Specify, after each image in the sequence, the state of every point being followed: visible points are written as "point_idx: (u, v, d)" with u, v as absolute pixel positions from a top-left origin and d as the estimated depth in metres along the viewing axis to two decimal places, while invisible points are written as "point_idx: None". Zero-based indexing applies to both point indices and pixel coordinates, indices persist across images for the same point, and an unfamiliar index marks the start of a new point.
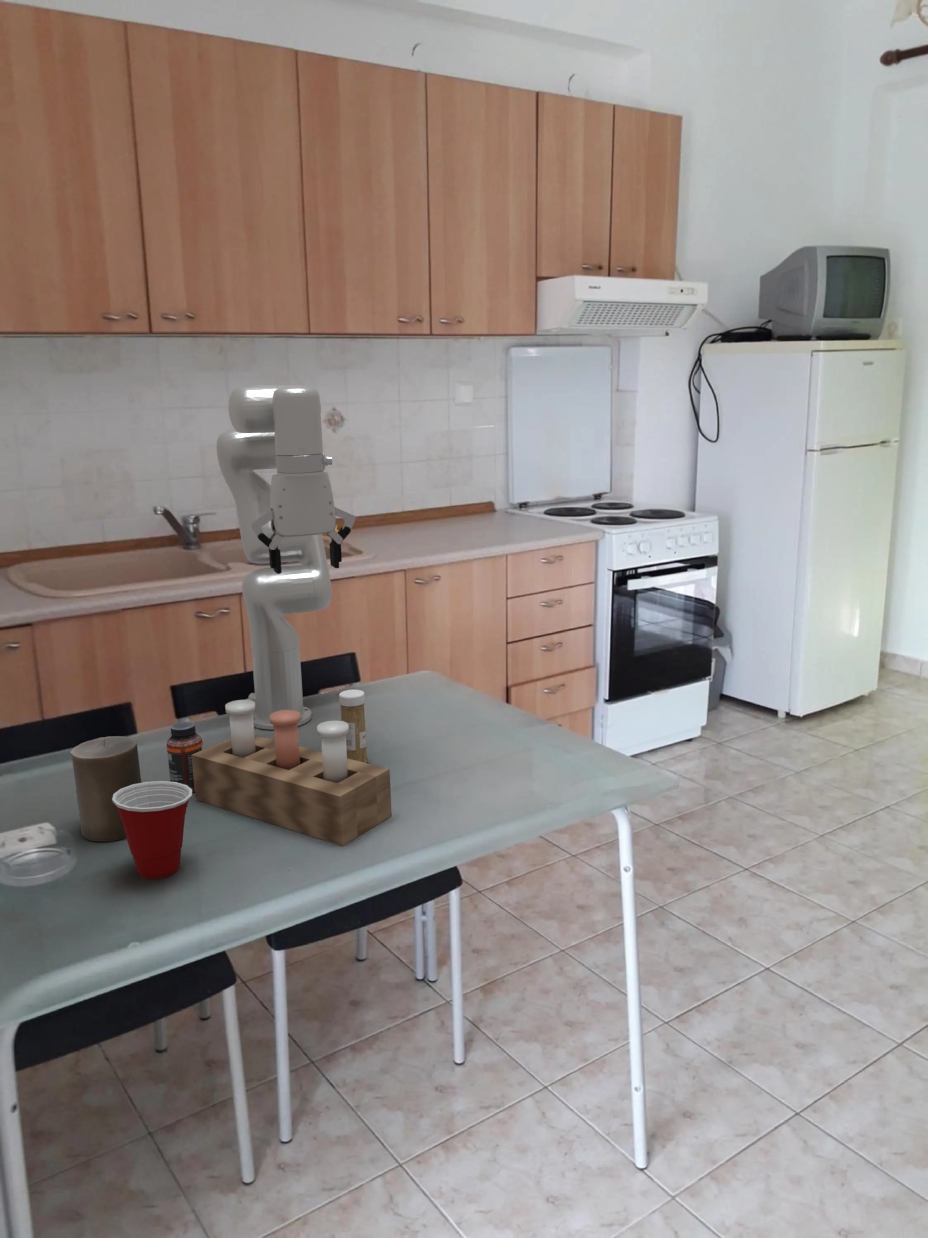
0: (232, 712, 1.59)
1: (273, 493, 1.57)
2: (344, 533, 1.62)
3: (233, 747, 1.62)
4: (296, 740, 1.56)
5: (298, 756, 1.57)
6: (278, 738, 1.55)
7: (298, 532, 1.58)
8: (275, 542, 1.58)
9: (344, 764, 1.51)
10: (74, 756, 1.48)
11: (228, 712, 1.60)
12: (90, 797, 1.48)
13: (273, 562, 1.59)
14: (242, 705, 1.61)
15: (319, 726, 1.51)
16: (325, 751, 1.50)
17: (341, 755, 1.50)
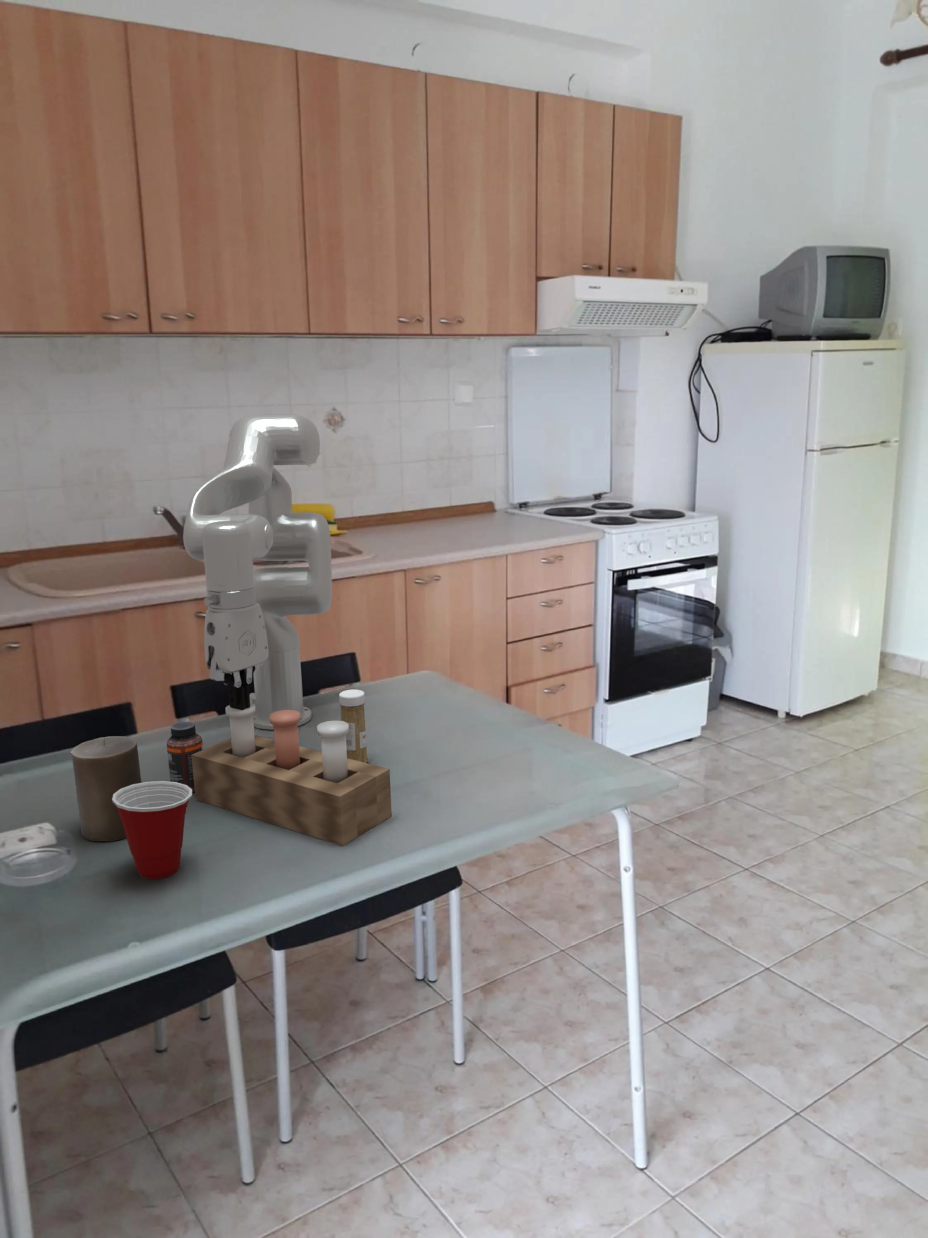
0: (232, 715, 1.59)
1: None
2: None
3: (233, 750, 1.62)
4: (296, 740, 1.56)
5: (298, 756, 1.57)
6: (278, 738, 1.55)
7: None
8: None
9: (344, 764, 1.51)
10: (74, 756, 1.48)
11: (228, 715, 1.60)
12: (90, 797, 1.48)
13: None
14: None
15: (319, 726, 1.51)
16: (325, 751, 1.50)
17: (341, 755, 1.50)
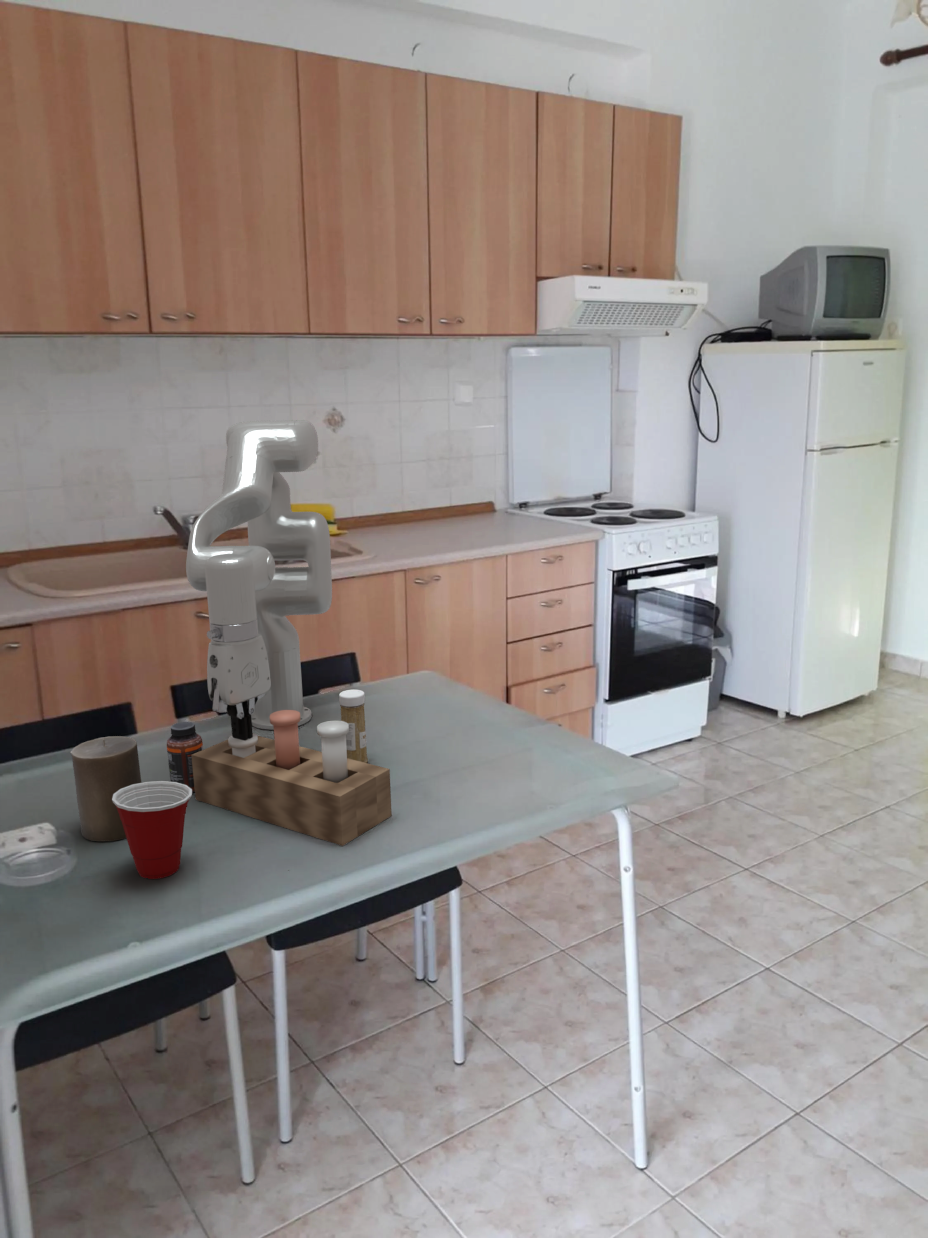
0: (235, 745, 1.61)
1: None
2: None
3: None
4: (296, 740, 1.56)
5: (298, 756, 1.57)
6: (278, 738, 1.55)
7: None
8: None
9: (344, 764, 1.51)
10: (74, 756, 1.48)
11: (231, 745, 1.61)
12: (90, 797, 1.48)
13: None
14: None
15: (319, 726, 1.51)
16: (325, 751, 1.50)
17: (341, 755, 1.50)
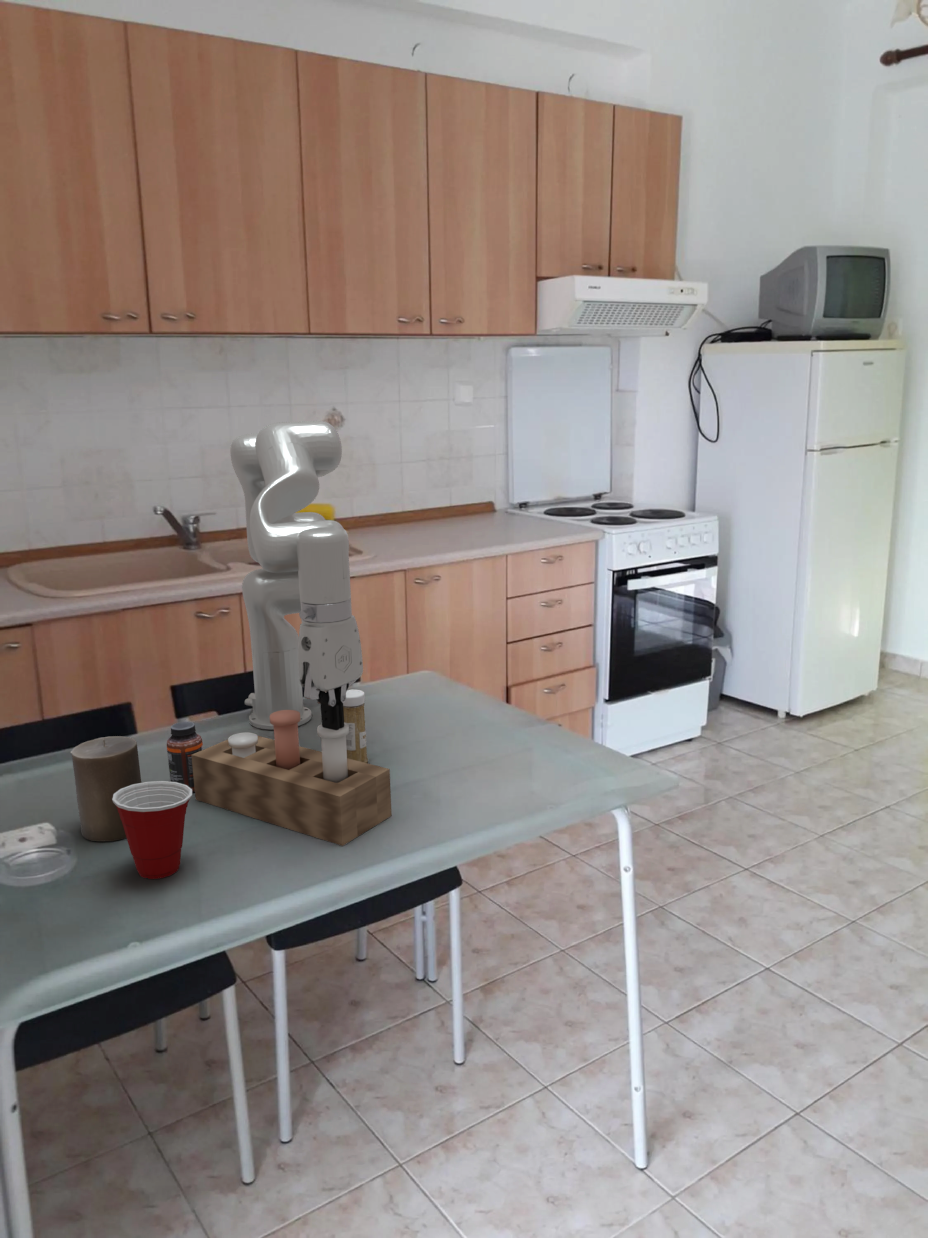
0: (235, 745, 1.61)
1: None
2: None
3: None
4: (296, 740, 1.56)
5: (298, 756, 1.57)
6: (278, 738, 1.55)
7: None
8: None
9: (344, 765, 1.51)
10: (74, 756, 1.48)
11: (231, 745, 1.61)
12: (90, 797, 1.48)
13: None
14: (245, 738, 1.62)
15: (319, 727, 1.51)
16: (325, 752, 1.50)
17: (341, 756, 1.50)
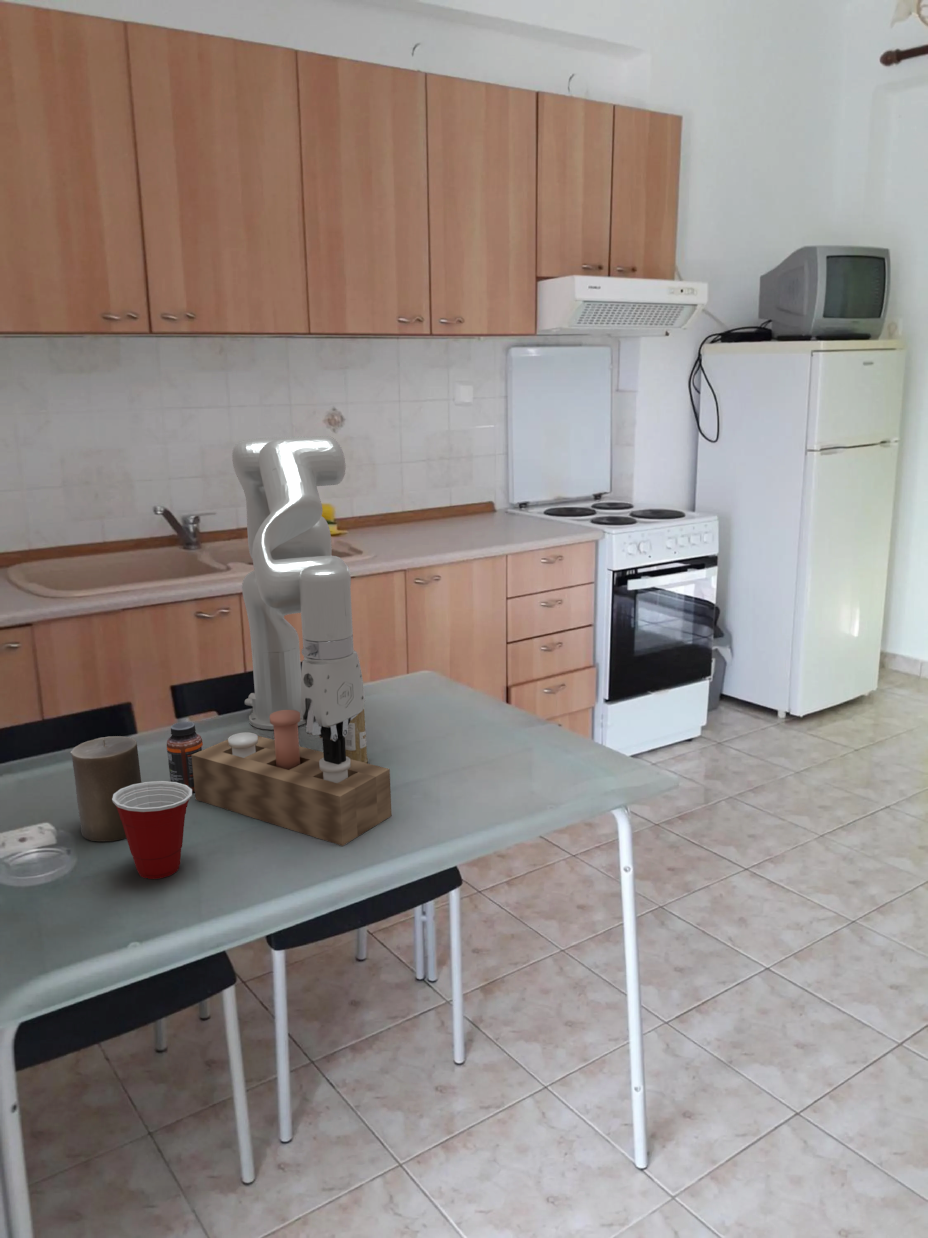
0: (235, 745, 1.61)
1: None
2: None
3: None
4: (296, 740, 1.56)
5: (298, 756, 1.57)
6: (278, 738, 1.55)
7: None
8: None
9: None
10: (74, 756, 1.48)
11: (231, 745, 1.61)
12: (90, 797, 1.48)
13: None
14: (245, 738, 1.62)
15: (321, 761, 1.52)
16: None
17: None
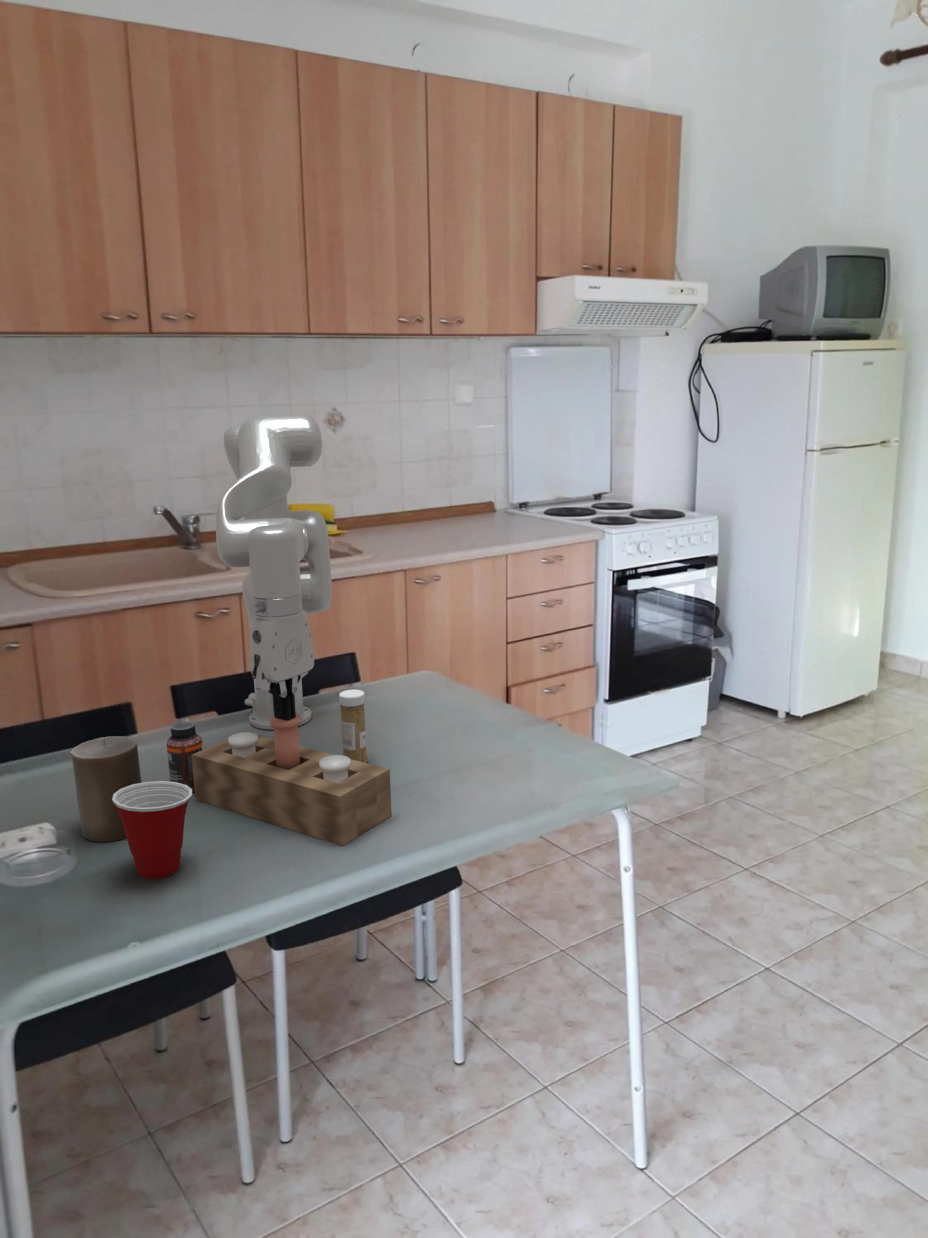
0: (235, 745, 1.61)
1: None
2: None
3: None
4: (296, 743, 1.56)
5: (298, 759, 1.57)
6: (278, 741, 1.55)
7: None
8: None
9: None
10: (74, 756, 1.48)
11: (231, 745, 1.61)
12: (90, 797, 1.48)
13: None
14: (245, 738, 1.62)
15: (321, 761, 1.52)
16: None
17: None
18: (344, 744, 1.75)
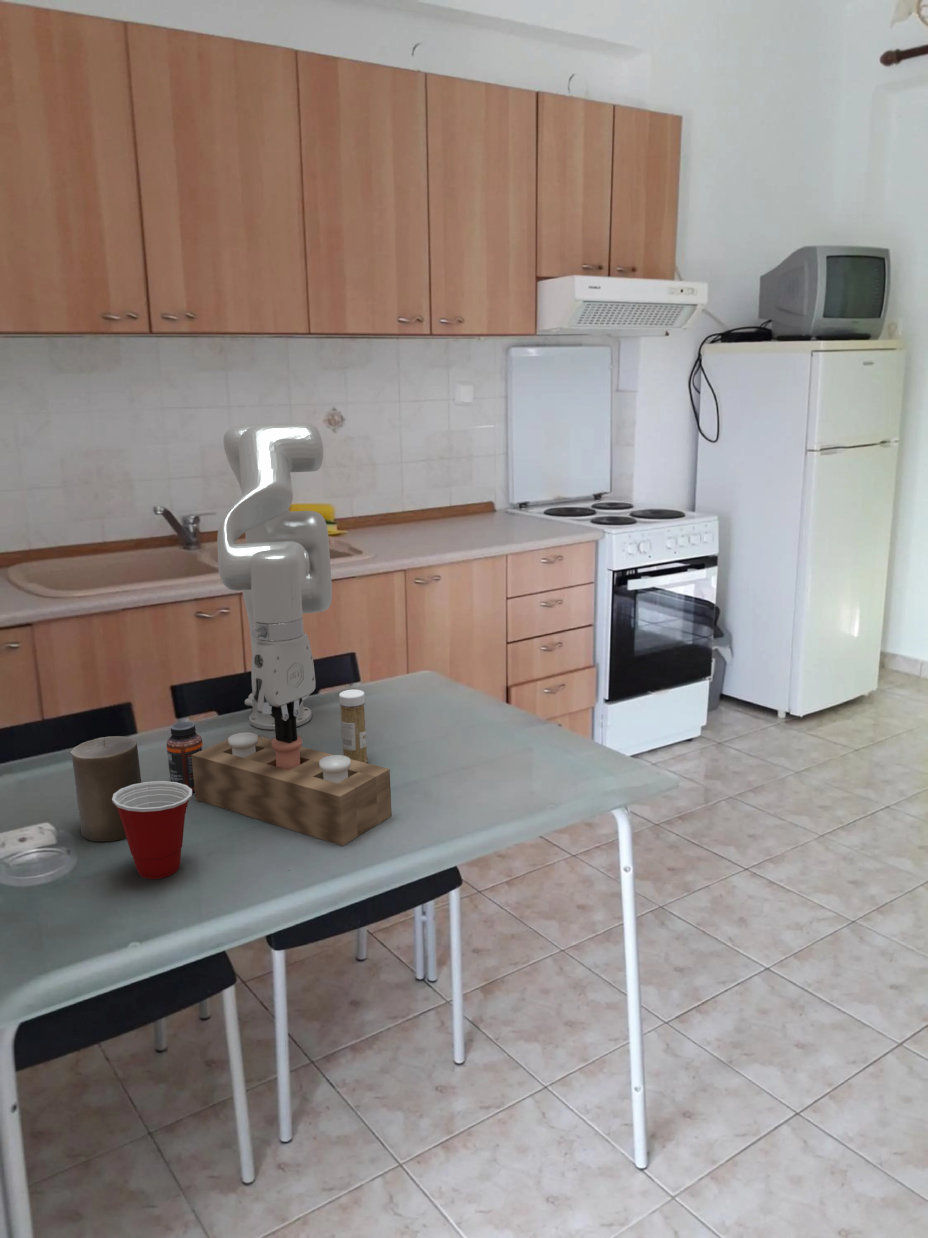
0: (235, 745, 1.61)
1: None
2: None
3: None
4: None
5: None
6: (280, 763, 1.56)
7: None
8: None
9: None
10: (74, 756, 1.48)
11: (231, 745, 1.61)
12: (90, 797, 1.48)
13: None
14: (245, 738, 1.62)
15: (321, 761, 1.52)
16: None
17: None
18: (344, 744, 1.75)
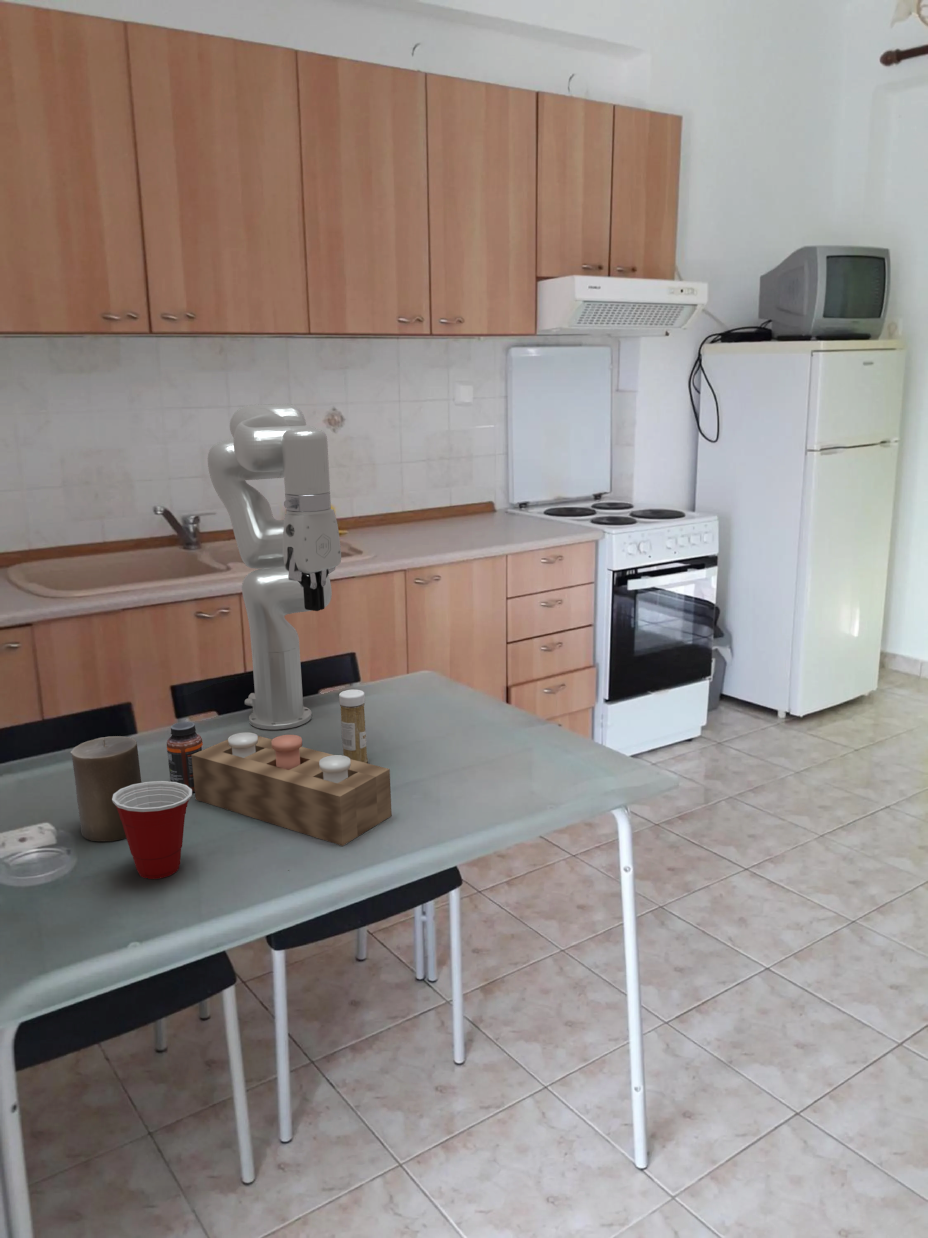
0: (235, 745, 1.61)
1: None
2: None
3: None
4: None
5: None
6: (280, 763, 1.56)
7: None
8: None
9: None
10: (74, 756, 1.48)
11: (231, 745, 1.61)
12: (90, 797, 1.48)
13: None
14: (245, 738, 1.62)
15: (321, 761, 1.52)
16: None
17: None
18: (344, 744, 1.75)
